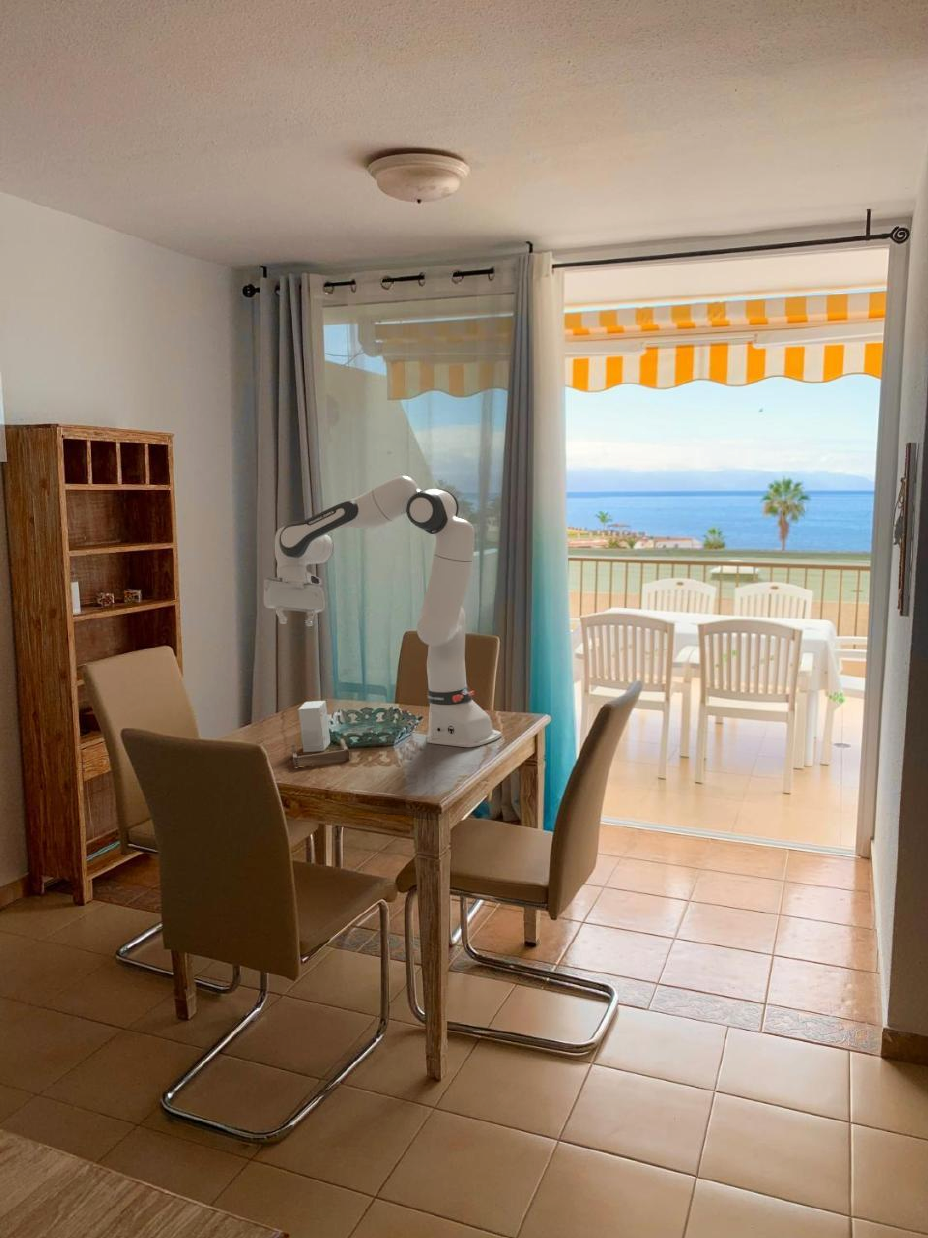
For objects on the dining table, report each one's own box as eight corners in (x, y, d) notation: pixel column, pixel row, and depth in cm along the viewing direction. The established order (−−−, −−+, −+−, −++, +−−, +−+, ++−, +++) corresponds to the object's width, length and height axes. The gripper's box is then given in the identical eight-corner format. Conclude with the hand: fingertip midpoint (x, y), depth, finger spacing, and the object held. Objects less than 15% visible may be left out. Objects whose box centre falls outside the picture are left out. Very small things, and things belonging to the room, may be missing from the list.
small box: (310, 744, 285) (305, 701, 283) (330, 743, 284) (326, 700, 282) (302, 752, 277) (297, 708, 275) (324, 751, 276) (319, 707, 274)
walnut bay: (292, 756, 274) (290, 745, 274) (344, 748, 277) (343, 738, 277) (294, 768, 262) (293, 758, 262) (349, 760, 265) (348, 750, 265)
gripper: (269, 572, 277) (273, 619, 274) (325, 580, 292) (330, 624, 289) (257, 578, 281) (260, 624, 278) (313, 585, 296) (317, 629, 293)
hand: (296, 624), depth 283 cm, fingers open, 8 cm apart
